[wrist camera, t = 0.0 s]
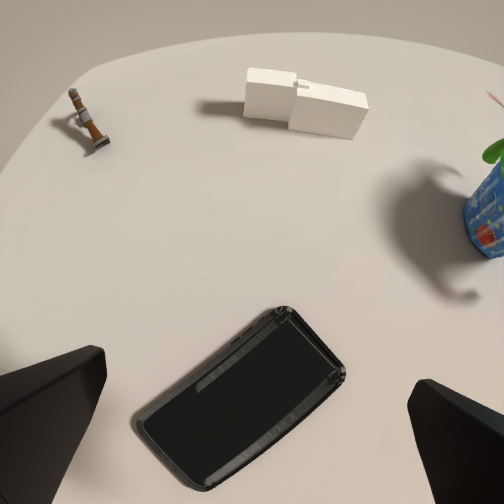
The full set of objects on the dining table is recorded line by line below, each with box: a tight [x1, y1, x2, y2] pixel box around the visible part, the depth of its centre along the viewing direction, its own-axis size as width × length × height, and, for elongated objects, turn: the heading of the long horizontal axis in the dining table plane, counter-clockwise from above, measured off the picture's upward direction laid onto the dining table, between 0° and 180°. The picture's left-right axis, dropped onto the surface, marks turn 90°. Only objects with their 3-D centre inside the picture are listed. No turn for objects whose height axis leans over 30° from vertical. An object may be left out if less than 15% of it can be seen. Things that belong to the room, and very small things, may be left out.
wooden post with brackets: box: [68, 88, 110, 151], centre depth 27 cm, size 2×8×4 cm, turn 39°
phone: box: [136, 306, 346, 492], centre depth 21 cm, size 8×1×15 cm
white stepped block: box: [243, 68, 369, 140], centre depth 28 cm, size 15×11×6 cm
